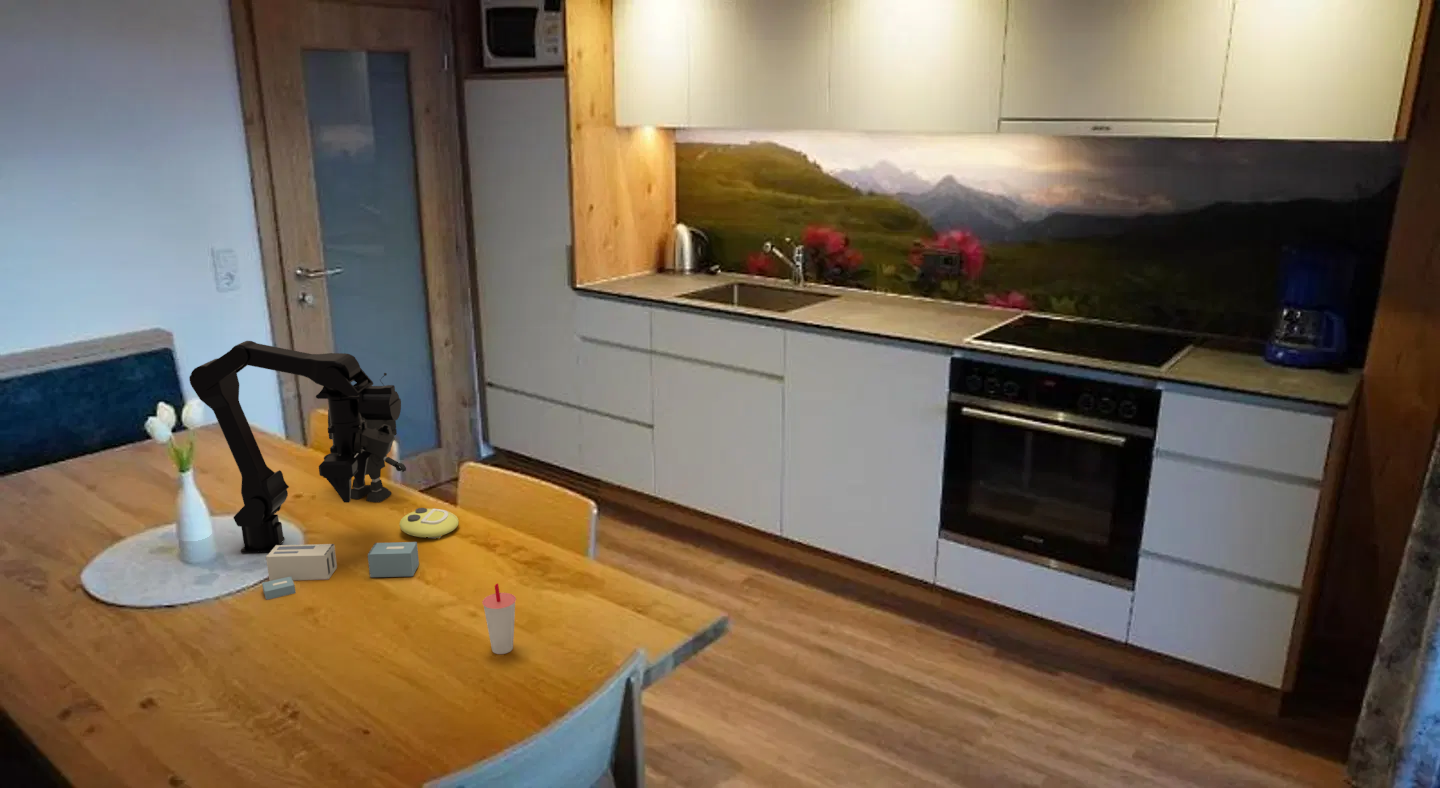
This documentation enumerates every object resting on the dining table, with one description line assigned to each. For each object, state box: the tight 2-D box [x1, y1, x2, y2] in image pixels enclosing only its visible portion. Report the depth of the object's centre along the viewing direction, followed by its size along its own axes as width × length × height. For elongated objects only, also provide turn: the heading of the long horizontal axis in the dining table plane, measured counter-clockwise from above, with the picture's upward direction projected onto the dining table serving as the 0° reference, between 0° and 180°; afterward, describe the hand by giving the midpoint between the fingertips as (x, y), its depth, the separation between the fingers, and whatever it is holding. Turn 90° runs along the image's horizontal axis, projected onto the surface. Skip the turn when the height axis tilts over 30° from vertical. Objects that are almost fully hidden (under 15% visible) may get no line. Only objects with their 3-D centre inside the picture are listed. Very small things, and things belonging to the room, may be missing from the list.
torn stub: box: [261, 576, 297, 600], centre depth 180 cm, size 5×4×2 cm
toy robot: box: [323, 372, 407, 503], centre depth 220 cm, size 22×9×30 cm, turn 71°
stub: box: [367, 541, 420, 578], centre depth 187 cm, size 8×5×5 cm, turn 93°
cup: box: [482, 583, 517, 655], centre depth 159 cm, size 5×5×12 cm
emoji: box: [399, 507, 459, 539], centre depth 205 cm, size 4×12×12 cm
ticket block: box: [265, 543, 338, 581], centre depth 186 cm, size 11×5×5 cm, turn 93°
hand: (354, 493), depth 194 cm, fingers open, 9 cm apart
